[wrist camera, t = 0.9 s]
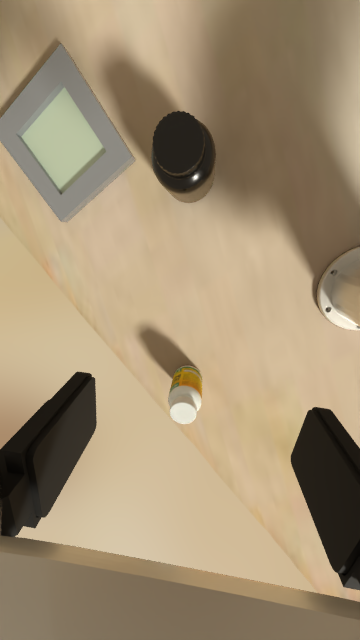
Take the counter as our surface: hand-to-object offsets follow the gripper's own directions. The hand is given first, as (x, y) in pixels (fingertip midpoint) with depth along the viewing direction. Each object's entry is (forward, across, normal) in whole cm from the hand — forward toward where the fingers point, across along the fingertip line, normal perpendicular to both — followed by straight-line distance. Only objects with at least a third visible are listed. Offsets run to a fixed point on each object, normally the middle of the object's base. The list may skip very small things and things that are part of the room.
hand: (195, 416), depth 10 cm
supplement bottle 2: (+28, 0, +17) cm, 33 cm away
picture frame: (+29, +21, -17) cm, 40 cm away
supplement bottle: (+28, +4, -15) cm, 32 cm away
